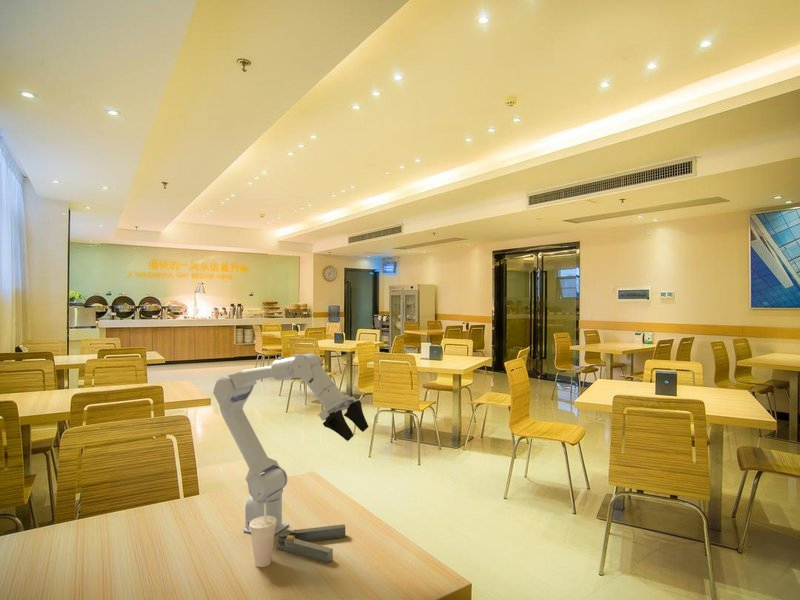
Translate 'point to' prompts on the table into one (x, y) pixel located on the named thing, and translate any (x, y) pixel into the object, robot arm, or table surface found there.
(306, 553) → the tongs base
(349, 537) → the table surface
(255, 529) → the smoothie
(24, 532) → the table surface
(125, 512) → the table surface
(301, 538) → the bar
